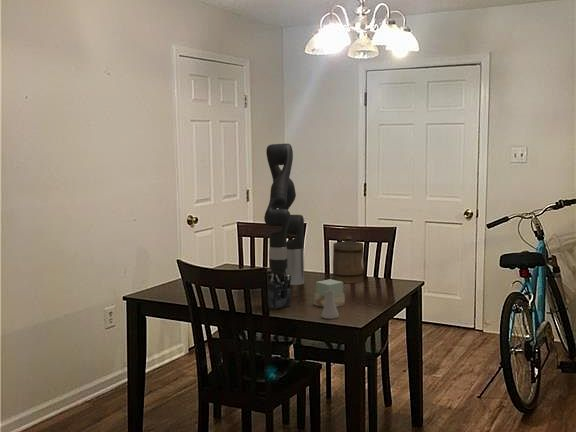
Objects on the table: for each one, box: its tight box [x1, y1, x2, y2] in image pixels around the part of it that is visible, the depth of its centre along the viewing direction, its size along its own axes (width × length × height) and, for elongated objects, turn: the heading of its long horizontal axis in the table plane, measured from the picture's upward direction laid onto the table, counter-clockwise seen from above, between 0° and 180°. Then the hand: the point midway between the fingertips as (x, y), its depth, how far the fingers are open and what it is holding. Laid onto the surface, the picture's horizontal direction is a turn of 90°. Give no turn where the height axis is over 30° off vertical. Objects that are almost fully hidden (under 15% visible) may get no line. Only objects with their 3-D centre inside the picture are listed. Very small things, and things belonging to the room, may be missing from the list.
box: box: [267, 281, 291, 310], centre depth 269 cm, size 8×6×11 cm
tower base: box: [313, 292, 346, 308], centre depth 272 cm, size 9×9×5 cm
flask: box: [320, 291, 340, 320], centre depth 253 cm, size 7×7×10 cm
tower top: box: [315, 278, 344, 296], centre depth 271 cm, size 8×8×5 cm
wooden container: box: [332, 235, 365, 284], centre depth 316 cm, size 15×15×22 cm
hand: (278, 297), depth 269 cm, fingers closed on box, 5 cm apart
